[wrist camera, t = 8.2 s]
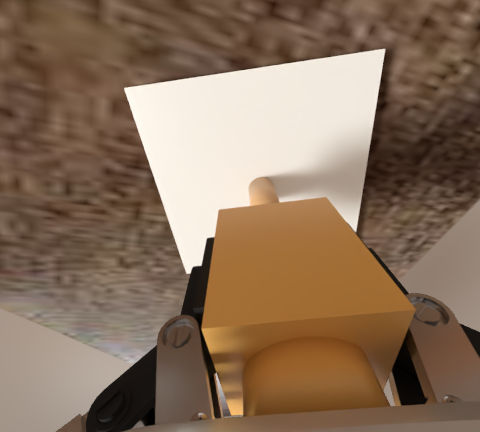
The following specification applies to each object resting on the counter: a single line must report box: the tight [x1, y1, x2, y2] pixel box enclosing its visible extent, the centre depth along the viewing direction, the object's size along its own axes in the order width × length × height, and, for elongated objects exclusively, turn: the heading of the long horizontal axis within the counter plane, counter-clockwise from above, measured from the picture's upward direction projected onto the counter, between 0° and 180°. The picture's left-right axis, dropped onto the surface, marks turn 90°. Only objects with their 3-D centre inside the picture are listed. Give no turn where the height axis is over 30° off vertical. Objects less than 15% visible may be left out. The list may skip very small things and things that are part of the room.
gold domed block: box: [201, 197, 416, 417], centre depth 9 cm, size 5×5×8 cm
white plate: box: [124, 49, 385, 273], centre depth 16 cm, size 16×16×6 cm
